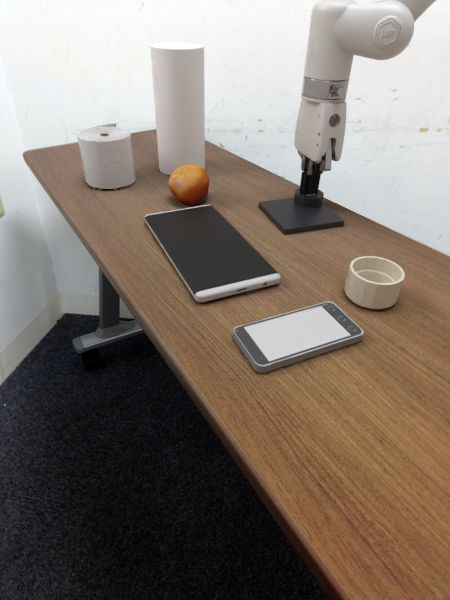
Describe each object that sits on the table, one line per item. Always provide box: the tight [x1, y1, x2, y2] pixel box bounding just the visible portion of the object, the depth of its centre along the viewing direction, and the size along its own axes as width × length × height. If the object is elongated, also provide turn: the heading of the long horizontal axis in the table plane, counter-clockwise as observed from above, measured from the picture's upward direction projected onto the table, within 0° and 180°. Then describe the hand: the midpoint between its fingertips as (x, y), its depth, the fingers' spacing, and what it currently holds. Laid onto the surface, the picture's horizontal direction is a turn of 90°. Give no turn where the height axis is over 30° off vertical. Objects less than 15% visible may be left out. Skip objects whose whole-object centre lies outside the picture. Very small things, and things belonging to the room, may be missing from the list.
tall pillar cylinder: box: [150, 41, 206, 176], centre depth 93 cm, size 11×11×25 cm
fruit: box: [168, 164, 210, 206], centre depth 84 cm, size 8×8×8 cm
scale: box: [257, 187, 345, 236], centre depth 80 cm, size 12×12×3 cm
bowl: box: [344, 255, 406, 310], centre depth 59 cm, size 7×7×4 cm
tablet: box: [144, 204, 282, 303], centre depth 69 cm, size 13×27×2 cm, turn 24°
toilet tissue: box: [76, 122, 137, 188], centre depth 90 cm, size 11×12×10 cm
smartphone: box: [232, 300, 364, 374], centre depth 53 cm, size 7×1×15 cm
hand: (308, 192), depth 83 cm, fingers closed
